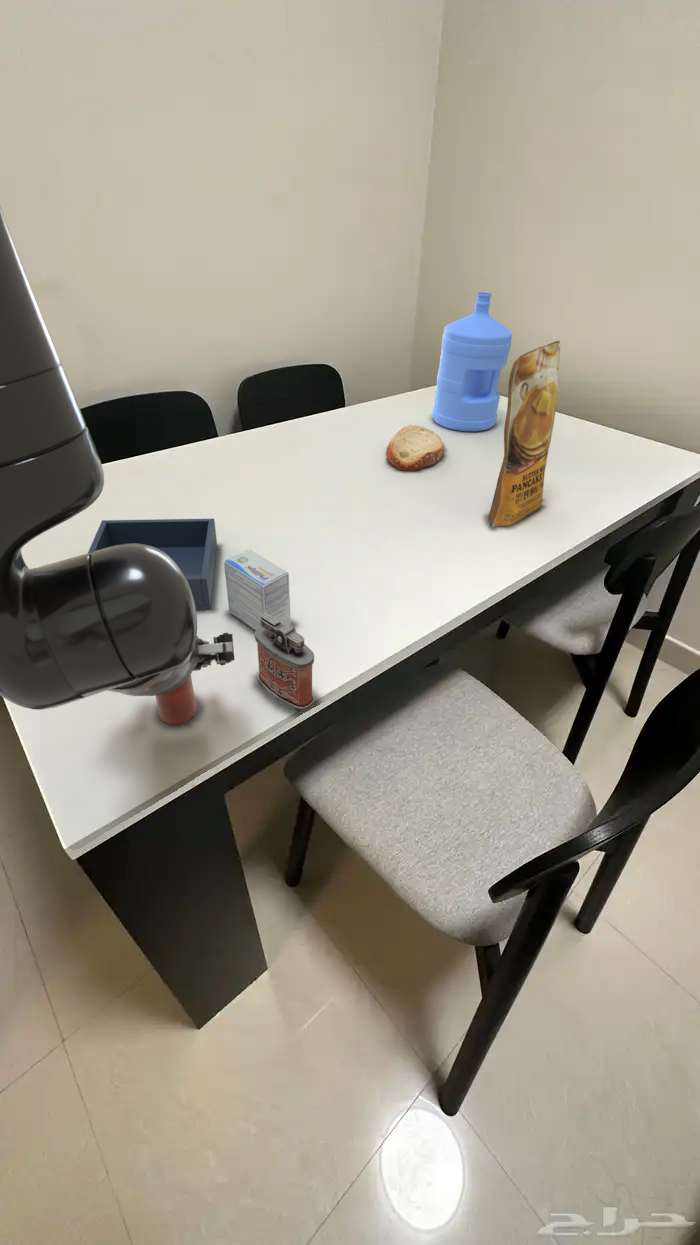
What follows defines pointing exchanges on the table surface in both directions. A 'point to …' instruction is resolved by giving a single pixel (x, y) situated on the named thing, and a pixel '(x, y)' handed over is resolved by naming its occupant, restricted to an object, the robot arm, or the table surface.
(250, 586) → the medicine box
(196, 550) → the bin
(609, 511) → the table surface
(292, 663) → the lighter
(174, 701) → the terracotta red cylinder
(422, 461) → the slice of bread
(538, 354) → the pancake mix bag
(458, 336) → the water jug
